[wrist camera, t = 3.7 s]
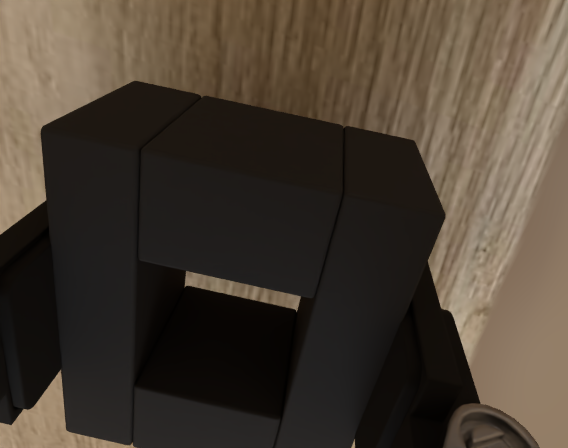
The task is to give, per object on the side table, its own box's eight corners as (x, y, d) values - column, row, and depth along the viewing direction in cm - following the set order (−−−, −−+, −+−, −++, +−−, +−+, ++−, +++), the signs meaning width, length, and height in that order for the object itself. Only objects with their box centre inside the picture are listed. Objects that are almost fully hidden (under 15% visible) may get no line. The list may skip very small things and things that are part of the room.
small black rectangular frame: (128, 327, 13) (64, 432, 10) (133, 79, 9) (37, 126, 7) (336, 374, 13) (333, 494, 10) (415, 139, 9) (448, 215, 6)
